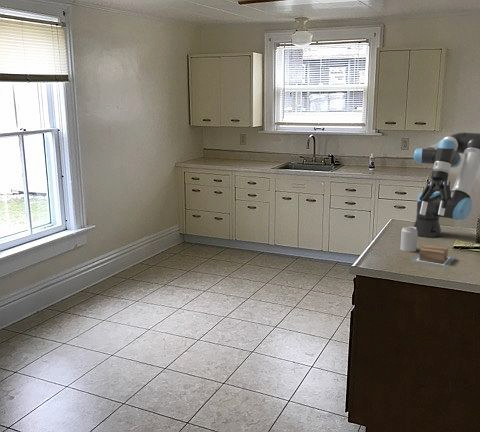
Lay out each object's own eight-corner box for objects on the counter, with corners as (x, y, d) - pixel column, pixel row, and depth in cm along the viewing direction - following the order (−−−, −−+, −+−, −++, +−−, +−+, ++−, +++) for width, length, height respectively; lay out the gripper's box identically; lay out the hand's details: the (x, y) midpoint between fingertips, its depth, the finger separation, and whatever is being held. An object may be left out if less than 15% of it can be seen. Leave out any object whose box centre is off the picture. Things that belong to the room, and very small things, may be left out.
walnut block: (425, 254, 246) (425, 244, 245) (447, 258, 240) (448, 247, 239) (419, 260, 238) (419, 249, 236) (442, 263, 232) (443, 253, 231)
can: (417, 253, 250) (419, 229, 247) (400, 253, 251) (402, 228, 248) (415, 249, 257) (417, 225, 254) (399, 248, 258) (401, 225, 256)
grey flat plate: (420, 253, 251) (420, 251, 251) (456, 258, 242) (456, 256, 242) (409, 263, 236) (409, 261, 236) (446, 269, 228) (447, 267, 227)
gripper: (418, 171, 262) (408, 212, 260) (452, 168, 238) (442, 213, 237) (430, 175, 264) (421, 216, 263) (465, 172, 240) (455, 217, 239)
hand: (431, 214), depth 250 cm, fingers open, 13 cm apart
